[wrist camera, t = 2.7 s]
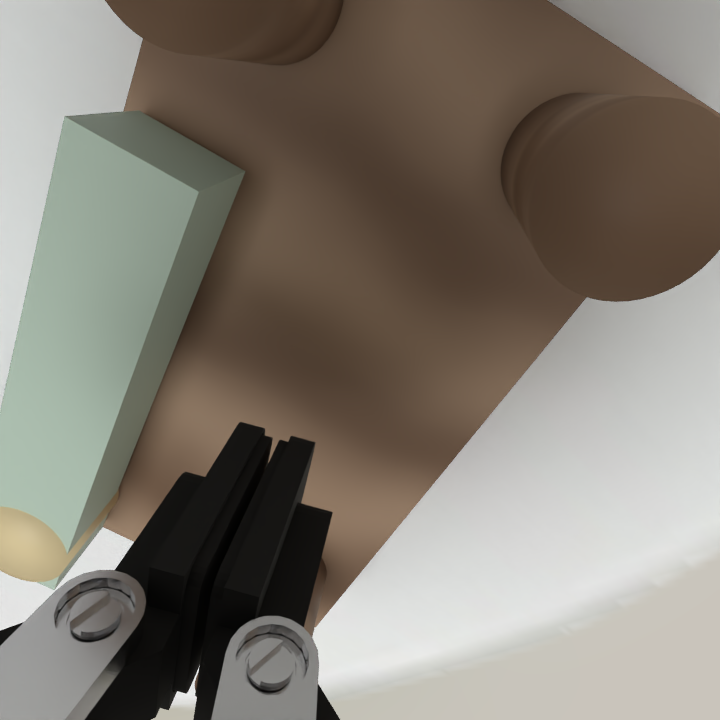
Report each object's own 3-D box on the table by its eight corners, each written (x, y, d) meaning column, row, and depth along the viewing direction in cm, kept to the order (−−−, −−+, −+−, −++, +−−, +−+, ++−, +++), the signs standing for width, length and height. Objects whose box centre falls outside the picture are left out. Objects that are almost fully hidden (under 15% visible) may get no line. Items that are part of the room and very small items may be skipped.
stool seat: (245, -176, 12) (51, -434, 6) (694, 116, 14) (897, 142, 8) (54, 456, 23) (-92, 597, 16) (324, 587, 24) (284, 761, 18)
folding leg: (106, 526, 21) (54, 595, 18) (29, 489, 20) (-37, 554, 18) (250, 172, 14) (201, 195, 11) (136, 108, 13) (56, 114, 11)
